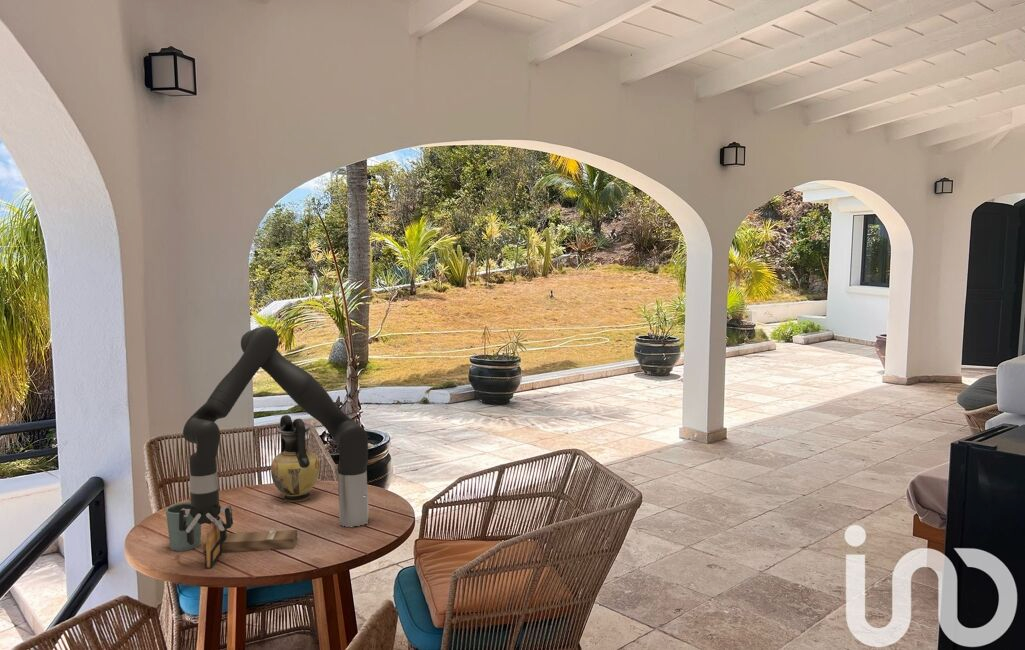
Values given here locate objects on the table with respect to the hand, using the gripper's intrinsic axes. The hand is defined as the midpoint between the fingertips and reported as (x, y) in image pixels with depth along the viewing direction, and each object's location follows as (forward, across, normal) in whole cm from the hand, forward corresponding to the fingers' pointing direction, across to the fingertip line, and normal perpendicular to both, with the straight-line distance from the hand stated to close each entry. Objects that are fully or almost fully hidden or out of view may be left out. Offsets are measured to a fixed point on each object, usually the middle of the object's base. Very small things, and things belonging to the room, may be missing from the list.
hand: (207, 543), depth 212 cm
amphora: (+6, -16, -53) cm, 56 cm away
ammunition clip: (+6, -2, 0) cm, 6 cm away
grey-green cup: (+6, +10, -13) cm, 17 cm away
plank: (+5, -10, -10) cm, 15 cm away
